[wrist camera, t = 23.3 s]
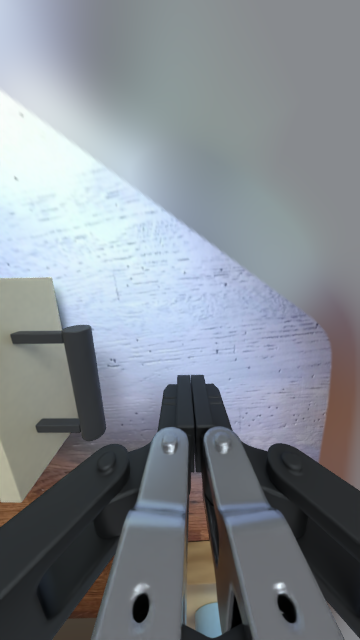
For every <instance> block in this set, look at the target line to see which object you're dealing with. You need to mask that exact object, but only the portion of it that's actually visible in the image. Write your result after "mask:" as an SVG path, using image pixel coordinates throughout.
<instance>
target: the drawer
mask: <svg viewBox="0 0 360 640" xmlns="http://www.w3.org/2000/svg"><path fill="white" fill-rule="evenodd" d="M105 430H106V423H105V416H104V409H103V403H102V396H101V389H100V383H99V376H98V369H97V363H96V356H95V349H94V343H93V336H92V329H91V326H89V325H76V326H71V327H67V328H65V329H63V330H62V327H61V322H60V317H59V312H58V307H57V301H56V296H55V291H54V286H53V281H52V278H51V277H44V278H0V500H1V502H22V501H23V500H24V498H25V497H26V495H27V494H28V493H29V491H30V490H31V488H32V487H33V485H34V484H35V483H36V481H37V480H38V478H39V477H40V476H41V474H42V473H43V471H44V470H45V469H46V467H47V466H48V464H49V463H50V461H51V460H52V459H53V457H54V456H55V454H56V453H57V452H58V450H59V449H60V447H61V446H62V444H63V443H64V442H65V440H66V439H67V437H68V436H69V435H70V433H80V432H81V433H82V438H83V439H84V440H86V441H93V440H96V439H98V438H99V437H101V436H102V435H103V434H104V432H105Z"/></svg>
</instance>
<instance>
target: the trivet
mask: <svg viewBox="0 0 360 640" xmlns="http://www.w3.org/2000/svg"><path fill="white" fill-rule="evenodd" d="M214 602H217V592H216V580H215V572H214V565H213V559H212V552H211V546H210V541H198V542H188V559H187V617H186V626H188V627H190V628H192V629H194V630H195V613H196V611H197V610H198V609H199V608H200V607H202V606H204V605H206V604H209V603H214Z"/></svg>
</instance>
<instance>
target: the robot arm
mask: <svg viewBox="0 0 360 640" xmlns="http://www.w3.org/2000/svg"><path fill="white" fill-rule="evenodd" d="M194 453H195V466H196V472H201V473H202V482H203V502H204V508H205V514H206V521H207V527H208V533H209V540H210V546H211V552H212V559H213V565H214V572H215V580H216V592H217V602H218V611H219V619H220V626H221V633H222V635H220V636H218V637H215V638H210V637H207V636H205V635H204V634H202V633H200V632H198V631H196V630H194V629H192V628H190V627H188V626H186V617H187V559H188V519H189V494H190V490H191V472H194ZM114 555H115V556H114ZM113 556H114V560H113V563H112V567H111V570H110V574H109V577H108V581H107V584H106V588H105V591H104V595H103V598H102V602H101V605H100V609H99V612H98V616H97V619H96V623H95V626H94V630H93V634H92V637H91V640H344V637H343V635H342V633H341V631H340V629H339V627H338V625H337V623H336V621H335V619H334V617H333V615H332V613H331V611H330V609H329V607H328V604H327V602H328V603H329V604H330V605H331V606H332V607H333V608H334V609H335V611H336V612H337V613H338V614H339V615H340V617H341V618H342V619H343V620H344V621H345V622H346V623H347V625H348V626H349V627H350V628H351V629H352V630H353V631H354V632H355V634H356V635H357V636H358V637H359V638H360V491H359V490H358V489H356V488H355V487H353V486H352V485H350V484H349V483H347V482H346V481H344V480H343V479H341V478H340V477H338V476H337V475H335V474H334V473H332V472H331V471H329V470H328V469H326V468H325V467H323V466H322V465H320V464H319V463H317V462H316V461H315V460H313V459H312V458H310V457H309V456H307V455H306V454H304V453H303V452H301V451H300V450H298V449H296V448H294V447H292V446H290V445H287V444H282V443H278V444H274V445H272V446H271V447H270V448H269V449H268V452H267V451H264V450H261V449H257V448H254V447H251V446H249V445H247V444H245V443H243V442H242V441H241V440H240V439H239V437H238V436H237V435H236V434H235V433H234V432H233V430H232V428H231V425H230V422H229V419H228V416H227V413H226V410H225V407H224V404H223V401H222V398H221V395H220V392H219V389H218V388H217V387H216V386H215V385H214V384H205V379H204V375H191V381H190V375H178V377H177V384H168V386H167V387H166V388H165V390H164V392H163V399H162V406H161V412H160V419H159V426H158V431H157V433H156V434H155V436H154V437H153V439H152V441H151V442H150V443H149V444H147V445H146V446H144V447H142V448H139V449H136V450H133V451H130V452H128V451H127V449H126V448H125V447H124V446H122V445H119V444H110V445H107V446H104V447H102V448H101V449H99V450H98V451H96V452H95V453H94V454H93V455H91V456H90V457H89V458H87V459H86V460H85V461H84V462H82V463H81V464H80V465H79V466H77V467H76V468H75V469H74V470H72V471H71V472H70V473H69V474H67V475H66V476H65V477H63V478H62V479H61V480H60V481H58V482H57V483H56V484H55V485H53V486H52V487H51V488H50V489H48V490H47V491H46V492H45V493H43V494H42V495H41V496H39V497H38V498H37V499H36V500H34V501H33V502H32V503H31V504H29V505H28V506H27V507H26V508H24V509H23V510H22V511H21V512H19V513H18V514H17V515H15V516H14V517H13V518H12V519H10V520H9V521H8V522H7V523H5V524H4V525H3V526H2V527H0V640H52V639H53V637H54V636H55V635H56V633H57V632H58V631H59V629H60V628H61V627H62V625H63V624H64V622H65V621H66V620H67V619H68V617H69V616H70V614H71V613H72V612H73V610H74V609H75V608H76V606H77V605H78V604H79V602H80V601H81V600H82V598H83V597H84V595H85V594H86V593H87V591H88V590H89V589H90V587H91V586H92V585H93V583H94V582H95V580H96V579H97V578H98V576H99V575H100V574H101V572H102V571H103V570H104V568H105V567H106V566H107V564H108V563H109V561H110V560H111V559H112V557H113ZM326 601H327V602H326Z"/></svg>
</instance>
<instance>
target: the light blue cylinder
mask: <svg viewBox="0 0 360 640" xmlns="http://www.w3.org/2000/svg"><path fill="white" fill-rule="evenodd" d="M195 630H196V631H198V632H200V633H202V634H204V635H205V636H207V637H210V638H215V637H218V636H220V635H222V633H221V626H220V619H219V611H218V602H214V603H209V604H206V605H204V606H202V607H200V608H199V609H198V610H197V611H196V613H195Z"/></svg>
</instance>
